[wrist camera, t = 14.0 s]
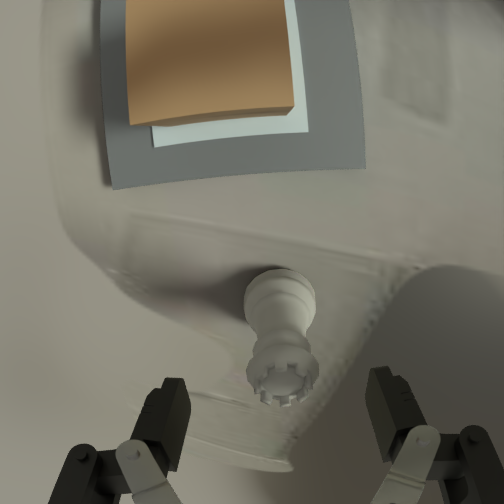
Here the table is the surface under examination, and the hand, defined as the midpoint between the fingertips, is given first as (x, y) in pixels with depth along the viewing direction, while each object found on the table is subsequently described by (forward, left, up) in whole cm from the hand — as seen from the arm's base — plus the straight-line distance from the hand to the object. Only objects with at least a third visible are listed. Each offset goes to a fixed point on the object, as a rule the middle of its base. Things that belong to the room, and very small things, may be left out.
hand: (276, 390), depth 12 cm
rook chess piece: (0, 0, -8) cm, 8 cm away
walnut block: (-8, -12, -7) cm, 16 cm away
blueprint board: (-10, -15, -8) cm, 20 cm away
